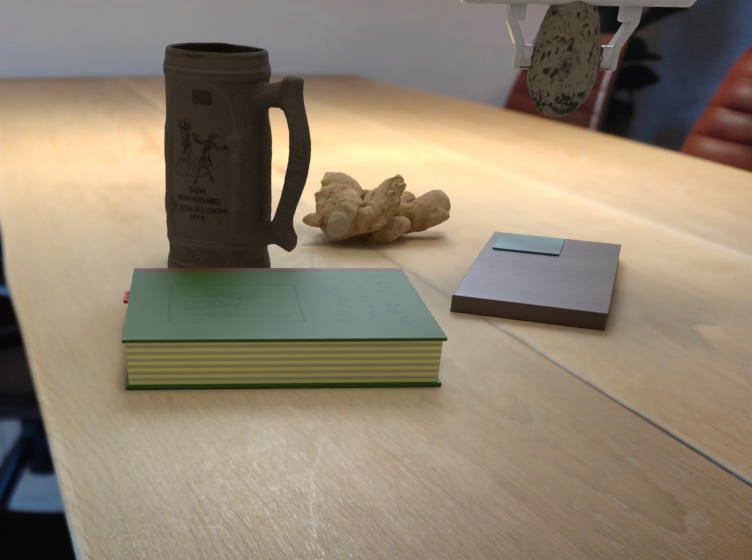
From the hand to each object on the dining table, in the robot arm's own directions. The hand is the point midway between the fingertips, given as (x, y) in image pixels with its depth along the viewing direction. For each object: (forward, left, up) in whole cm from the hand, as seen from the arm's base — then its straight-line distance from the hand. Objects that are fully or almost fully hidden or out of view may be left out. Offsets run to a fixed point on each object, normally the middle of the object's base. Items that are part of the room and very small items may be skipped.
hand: (562, 69), depth 79 cm
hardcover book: (+24, +19, -19) cm, 36 cm away
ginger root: (+16, -19, -19) cm, 31 cm away
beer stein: (+29, -2, -19) cm, 34 cm away
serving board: (-2, -3, -19) cm, 19 cm away
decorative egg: (0, 0, -4) cm, 4 cm away
